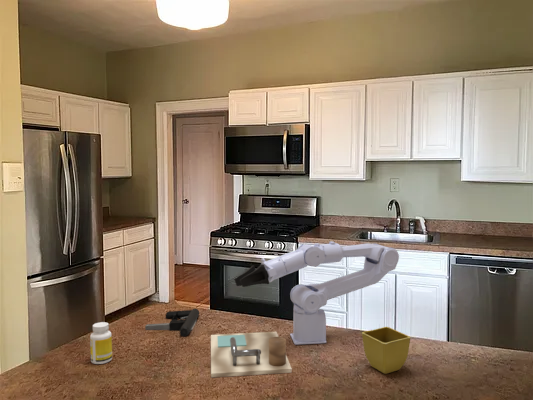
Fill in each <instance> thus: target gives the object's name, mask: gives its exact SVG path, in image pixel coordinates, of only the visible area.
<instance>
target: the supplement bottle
mask: <svg viewBox="0 0 533 400" xmlns="http://www.w3.org/2000/svg"><path fill="white" fill-rule="evenodd" d="M109 329H110V327H109V323H108V322H105V321H101V322H95V323H94V324H92V332H91V334H90V337H89V341H90V342H89V346H90V347H89V349H90V362H91V363H92V364H95V365H103V364H107V363H109V362H110V361H112V359H113V343H112V342H113V341H112V340H113V339H112V332H111V330H109Z"/></svg>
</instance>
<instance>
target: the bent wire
mask: <svg viewBox="0 0 533 400" xmlns="http://www.w3.org/2000/svg"><path fill="white" fill-rule="evenodd" d="M230 346H231V354H232V356H233V366H236V365H237V357H243V356H256V364H257V365H259V364H260V354H261V350H260V349H250V350H237V345H236V339H235V338H234V337H232V338H231V339H230Z"/></svg>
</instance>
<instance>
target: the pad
mask: <svg viewBox="0 0 533 400" xmlns="http://www.w3.org/2000/svg"><path fill="white" fill-rule="evenodd" d="M232 337H234V338H235V339H236V345H237V346H247V345H246V340H245V335H228V336H218V348H219V347H231V346H230V339H231V338H232Z"/></svg>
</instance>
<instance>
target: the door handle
mask: <svg viewBox="0 0 533 400" xmlns="http://www.w3.org/2000/svg"><path fill="white" fill-rule="evenodd" d="M200 316H202V315H201V314H200V311H199V309H197V308H193V309H188V310H186V309H185V310H171V311H170V310H169V311H167V312H166V313H165V318H166V319H168V320H170V322H163V323H148V324H146V325H144V327H145V331H172V332H173V331H174V332H178V331H179V334H180V336H182V337H187V336H188V335H189V334H190V333H191V332H192V331H193V330H194V327H195V325H196V323H197V318H198V317H200Z"/></svg>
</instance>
